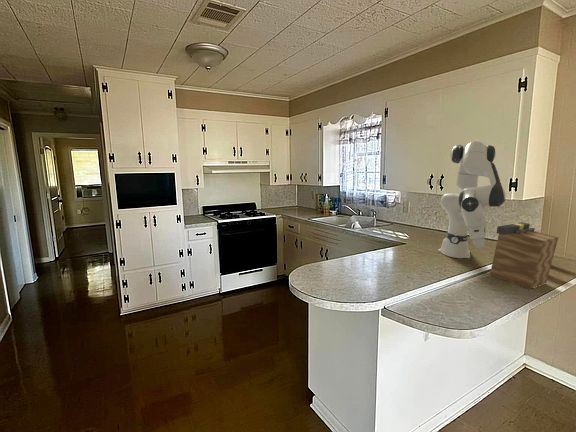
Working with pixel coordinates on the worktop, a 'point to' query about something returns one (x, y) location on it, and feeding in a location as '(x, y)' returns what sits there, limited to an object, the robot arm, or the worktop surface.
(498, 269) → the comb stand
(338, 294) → the worktop surface
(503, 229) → the dark long bar piece
